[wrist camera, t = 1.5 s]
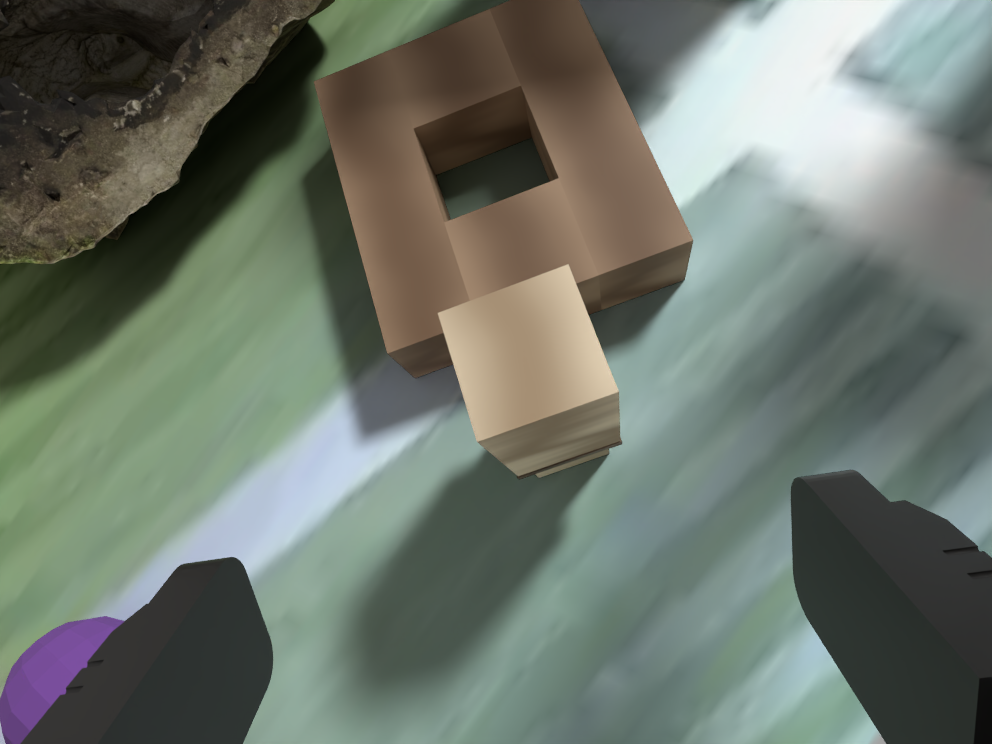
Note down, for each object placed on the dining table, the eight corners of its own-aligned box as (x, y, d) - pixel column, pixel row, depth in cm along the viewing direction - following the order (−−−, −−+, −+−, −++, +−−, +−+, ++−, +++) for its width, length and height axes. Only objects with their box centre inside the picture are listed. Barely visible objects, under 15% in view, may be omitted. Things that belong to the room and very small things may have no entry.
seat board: (573, 37, 36) (567, -24, 32) (684, 279, 31) (693, 240, 27) (345, 130, 37) (313, 81, 34) (415, 378, 32) (387, 353, 28)
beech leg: (589, 374, 30) (569, 262, 19) (622, 459, 29) (621, 392, 18) (504, 404, 31) (435, 312, 20) (532, 490, 29) (475, 444, 18)
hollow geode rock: (386, 23, 45) (226, -211, 39) (436, -26, 34) (220, -368, 27) (70, 282, 43) (-160, 81, 36) (9, 323, 32) (-343, 42, 25)
